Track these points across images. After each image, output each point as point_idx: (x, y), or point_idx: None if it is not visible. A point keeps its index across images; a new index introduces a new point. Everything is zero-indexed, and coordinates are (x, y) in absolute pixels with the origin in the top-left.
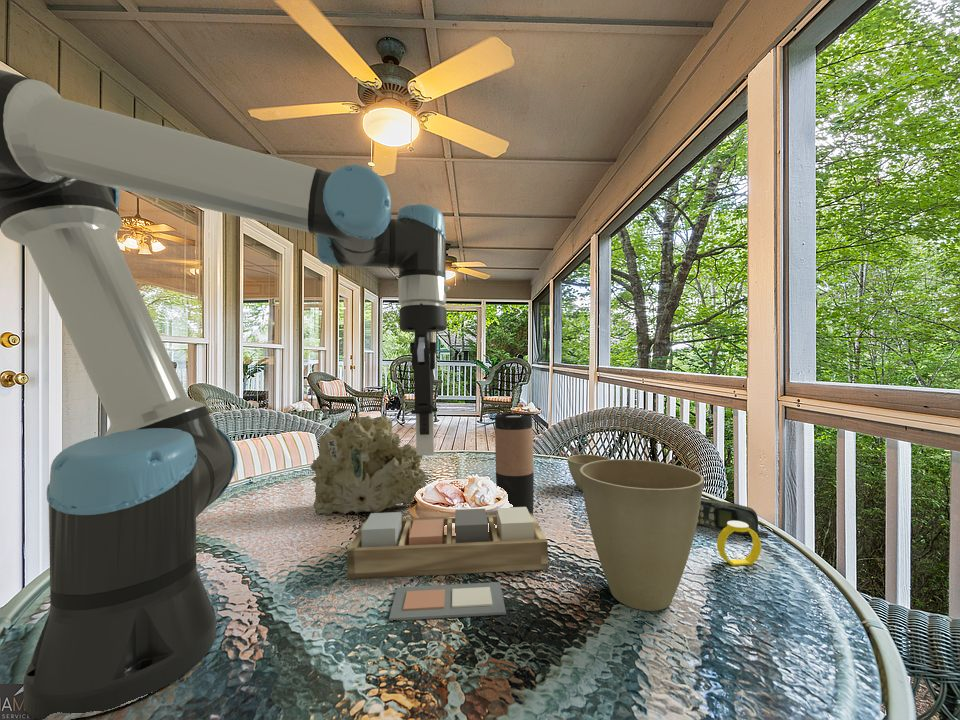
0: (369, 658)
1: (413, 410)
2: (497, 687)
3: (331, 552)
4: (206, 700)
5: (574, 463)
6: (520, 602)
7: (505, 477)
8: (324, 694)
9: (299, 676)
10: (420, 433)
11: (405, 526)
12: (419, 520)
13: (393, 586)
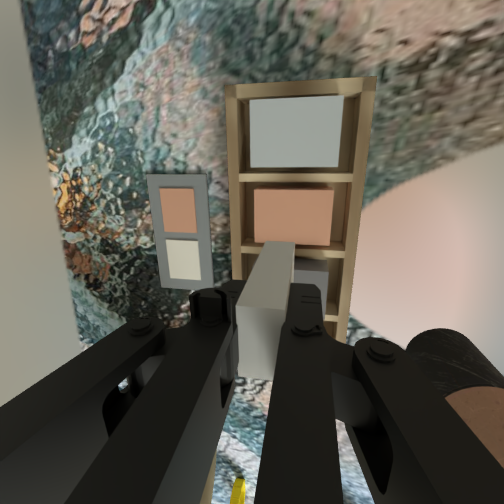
0: (97, 165)
1: (199, 306)
2: (83, 265)
3: (339, 22)
4: (33, 22)
5: None
6: (182, 302)
7: (444, 392)
8: (57, 135)
9: (69, 103)
10: (227, 283)
11: (321, 175)
12: (331, 202)
13: (215, 168)
